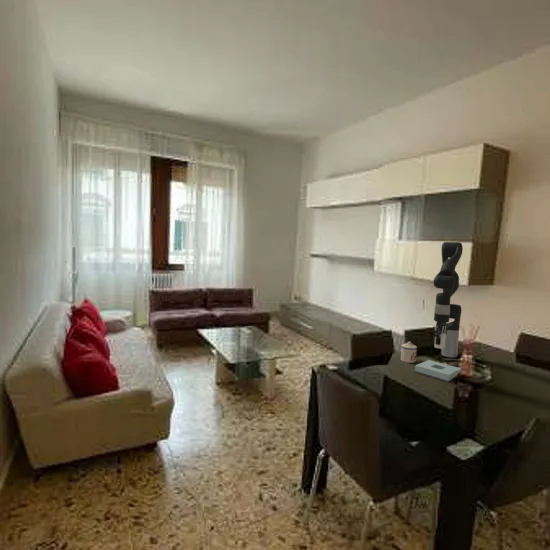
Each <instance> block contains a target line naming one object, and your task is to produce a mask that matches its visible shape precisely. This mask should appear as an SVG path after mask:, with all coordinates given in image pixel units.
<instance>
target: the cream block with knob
mask: <svg viewBox="0 0 550 550" xmlns="http://www.w3.org/2000/svg"><path fill="white" fill-rule="evenodd" d="M439 332H440V331H439ZM445 338H446V333H442V334H441V340H440V345H437V344H436V337H434V344H433V345H434V348H435V349H440V350H442V349H443V348H445Z"/></svg>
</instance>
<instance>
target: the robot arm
mask: <svg viewBox="0 0 550 550" xmlns="http://www.w3.org/2000/svg"><path fill="white" fill-rule="evenodd" d="M463 247H464V246H463V243H461V242H460V241H459V242H458V241H457V242H456V241H455V242H454V241H450V242H449V241H446V242H445V241H444V242H443V243H442V244H441V249H440V251H441V262H442V263H441V266H440V267H441V268H440V271H439V272H438V273H437V274H436V275H435V277H434V279H433V283H432V284H433V286H434V287H435V288H436V289H441V290H442V292H438V293H436V295H435V305H434V315H433V320H434V321H435V322H436V323H435V326H433V328H432V330H433V337H434V338H435V337H436V344H437V345H440V340H441V334H442V333H446V338H445V348H443V349H441V354H440V355H441V356H444V357H447V358H457V357H458V352H459V351H458V349H459V338H460V326H461V325H460V324H461V315H462V305H460V304H456V303H455V304H454V303H451V298H452V297H453V295H454V294H455V293H456V292H458V289H459V287H460V277H459V273H457V271H456V268H457V265H458V263H459V262H460V260H461V257H462V255H463ZM450 319H451V320H452V319H453V321H451V322H450ZM439 331H440V332H439Z"/></svg>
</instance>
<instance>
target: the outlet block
mask: <svg viewBox="0 0 550 550" xmlns="http://www.w3.org/2000/svg"><path fill="white" fill-rule="evenodd" d="M460 371H461V372H462V368H461V367H457V366H453V365H449V364H445V363H441V362H438V361H435V360H431V359H427V360H425V361H423V362H421V363H418V364H416V365H415V366H414V373H415V374H419V375H422V376H426V377H429V378H433V379H436V380H439V381H442V382H444V383H450V382H451V380H452V379H453V378H454V377H455V376H456V375H457V374H458V373H459V372H460ZM449 381H450V382H449ZM452 381H453V380H452Z"/></svg>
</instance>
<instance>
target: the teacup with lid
mask: <svg viewBox="0 0 550 550" xmlns="http://www.w3.org/2000/svg"><path fill="white" fill-rule="evenodd" d="M400 347H401V348H400V349H401V350H400V360H401V362H404V363H407V364H409V363H410V364H414V363H416V361H417V352H418V351H417V350H418V347H417V345H414V343H412V341H407V342H406V343H403V344H401V345H400Z"/></svg>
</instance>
